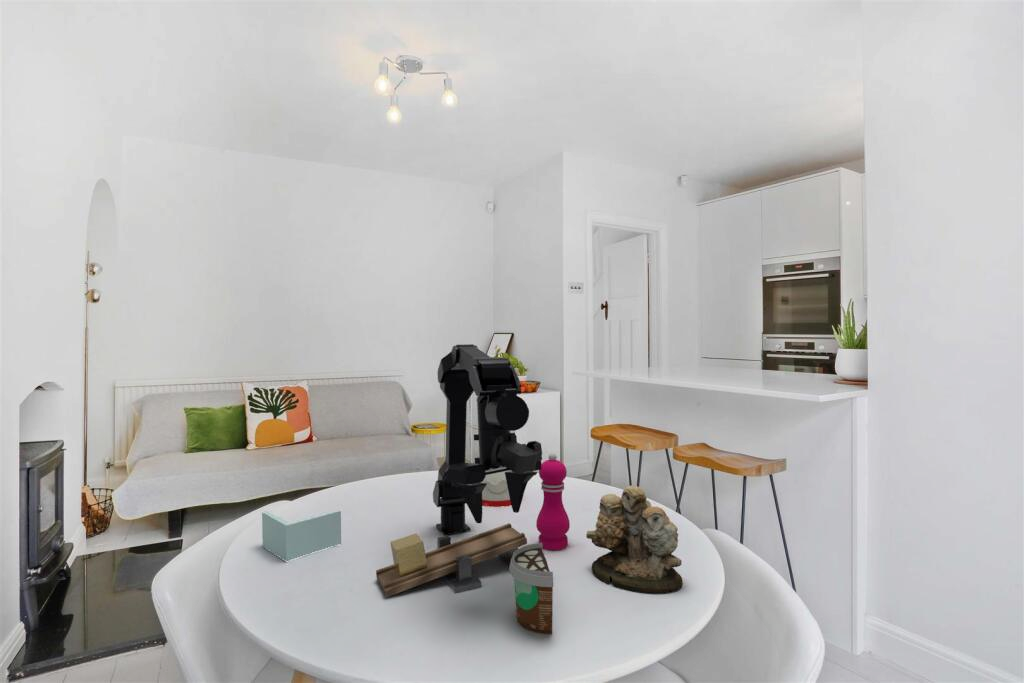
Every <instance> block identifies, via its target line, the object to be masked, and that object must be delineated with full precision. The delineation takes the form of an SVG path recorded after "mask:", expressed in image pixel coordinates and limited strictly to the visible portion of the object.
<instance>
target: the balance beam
mask: <svg viewBox="0 0 1024 683" xmlns="http://www.w3.org/2000/svg"><path fill="white" fill-rule="evenodd" d="M526 545H528V539H527V537H526V534H525V533H524V532H522V533H520V532H519V531H518V530H516V529H514V527H513V526H512V524H511V523H506V524H503V525H500V526H497V527H496V528H491V529H489V530H487V531H483V532H480V533H479V534H475V535H472V536H470V537H466V538H464V539H461V540H458V541H455V542H451V544H449V545H446V546H444V547H441V548H438V549H437V548H436V549H433V550H430V551H428V552H425V556H426V562H427V568H425V569H423V570H420V571H417V572H415V573H412V574H409V575H406V576H404V577H401V578H400V577H399V575H398V574H397V572H396V571H395V567H394V563H392V564H390V565H388V566H385V567H382V568H379V569H376V570H375V571H376V572H375V575H376V579H377V581H378V583H379V585H380V586H381V588H382V590H383V592H384V595H386V598H388V597H391V596H394V595H397V594H398V593H402V592H404V591H407V590H409V589H412V588H415V587H418V586H420V585H423V584H425V583H427V582H431V581H434V580H435V579H439V578H442V576H444V575H447V574H449V573H452V572H454V571H456V558H457V557H462V556H467V555H469V556H470V557H471V566H473V565H476V564H477V563H481V562H483V561H485V560H489V559H492V558H494V557H496V556H498V555H499V554H502V553H504V552H507V551H510V550H512V549H515V548H521V547H523V546H526Z"/></svg>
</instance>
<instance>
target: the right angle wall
mask: <svg viewBox="0 0 1024 683" xmlns="http://www.w3.org/2000/svg"><path fill="white" fill-rule="evenodd" d="M261 519H262V520H261V523H262V524H261V526H262V527H261V528H262V531H261V532H262V548H264V547H265V548H264V549H266V550H267V549H268V550H267V551H269V550H270V551H271V552H270V551H269V552H270V553H272V552H273V553H275V554H276V555H278V556H280V557H281V558H283V559H284V560H286V561H289V560H291V559H294V558H297V557H300V556H303V555H306V554H310V553H312V552H315V551H319V550H322V549H325V548H328V547H331V546H335V545H338V544H341V545H342V511H341V510H340V509H338V510H333V511H330V512H326V513H323V514H318V515H315V516H311V517H308V518H304V519H301V520H296V521H292V522H288V521H286V520H284V519H283V518H281V517H278V516H277V515H275V514H274V513H271V512H270V511H268V510H266V511H262V513H261ZM273 553H272V554H273ZM275 554H274V555H275ZM276 555H275V556H276ZM278 556H277V557H278ZM281 558H280V559H281ZM284 560H283V561H284Z"/></svg>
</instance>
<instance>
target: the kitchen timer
mask: <svg viewBox="0 0 1024 683" xmlns="http://www.w3.org/2000/svg"><path fill="white" fill-rule="evenodd" d="M509 471H510V470H509ZM505 472H508V471H504V472H499V473H494V474H489V475H486V477H485V478H484V480H483V482H481V483H487V485H486V486H485V488H484V490H483V492H482V507H483V506H484V507H488V506H489V507H490V508H492V507H493V508H497V507H498V508H500V507H501V506H504V507H510V505H511V502H510V497H509V491H508V486H507V482H506V476H505Z"/></svg>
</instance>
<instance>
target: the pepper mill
mask: <svg viewBox="0 0 1024 683" xmlns="http://www.w3.org/2000/svg"><path fill="white" fill-rule="evenodd" d="M557 458H558V456H557V454H556V453H554V452H551V453H549V454H548V459H547V460H545V461H543V462H541V467H542V469H541V470H538V476H539V478H540V479H541V486H540V487H541V489H540V490H541V491H543V492H542V493H543V503H542V506H541V509H540V510H539V513H538V515H537V518H536V524H535V526H536V529H537V531H538V532H539V533H540V534H539V535H538V543H542V549H544V550H547V551H548V550H549V551H561V550H563V549H566V548H567V547H568V545H569V544H568V543H569V542H568V540H569V539H568V536H567V535H566V534H567V533H568V532H569V531H570V526H571V525H570V523H571V522H570V519H569V516H568V513H567V511H566V509H565V505H564V504H563V491H564V490H565V482H564V480H565V479H566V477H567V467H566V466H565V464H564V463H563V462H562V461H561V460H558V459H557Z"/></svg>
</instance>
